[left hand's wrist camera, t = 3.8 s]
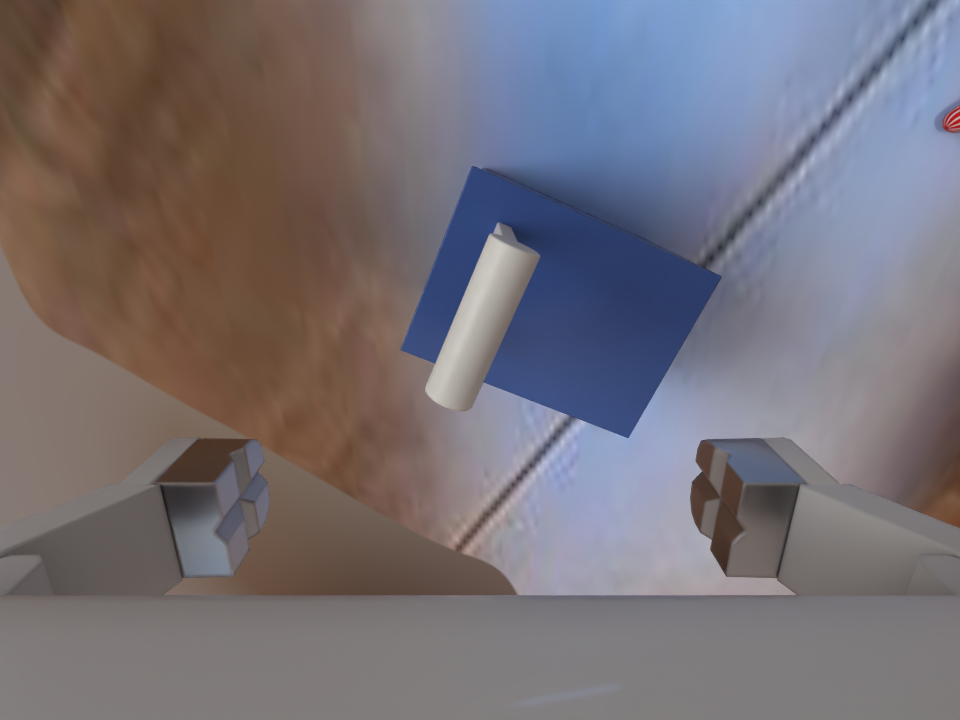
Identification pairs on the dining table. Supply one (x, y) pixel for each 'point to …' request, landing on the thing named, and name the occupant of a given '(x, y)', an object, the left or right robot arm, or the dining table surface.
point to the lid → (551, 308)
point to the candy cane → (952, 120)
